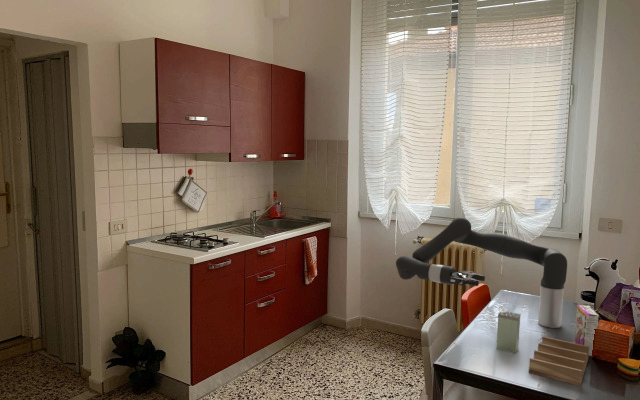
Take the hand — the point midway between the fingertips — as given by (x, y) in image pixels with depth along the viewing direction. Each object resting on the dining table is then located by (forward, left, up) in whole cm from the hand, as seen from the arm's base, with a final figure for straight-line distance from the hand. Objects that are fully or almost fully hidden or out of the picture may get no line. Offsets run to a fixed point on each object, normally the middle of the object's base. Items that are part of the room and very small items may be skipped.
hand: (481, 280), depth 193 cm
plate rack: (+4, +30, -25) cm, 39 cm away
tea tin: (0, +11, -25) cm, 28 cm away
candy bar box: (-16, +36, -25) cm, 47 cm away
